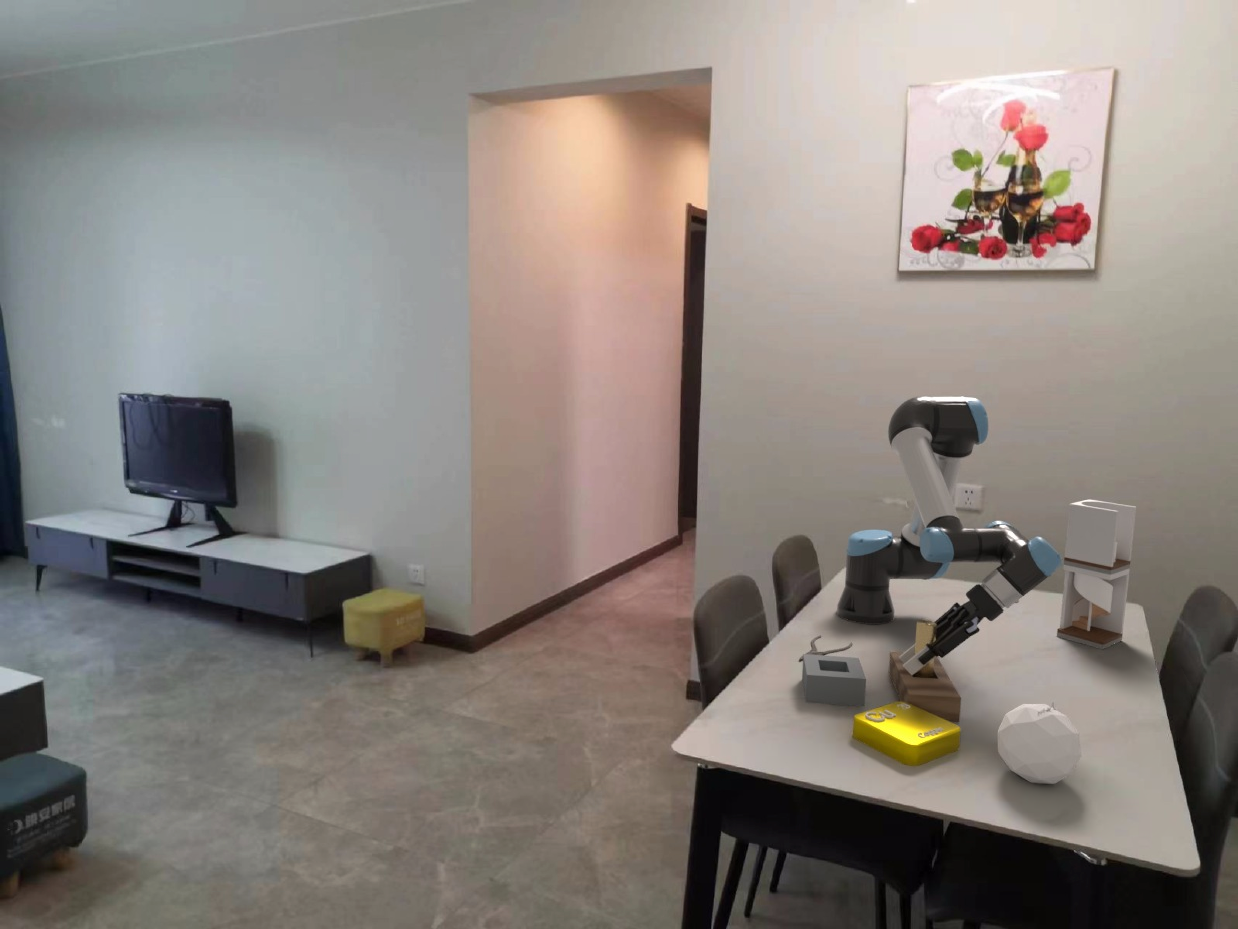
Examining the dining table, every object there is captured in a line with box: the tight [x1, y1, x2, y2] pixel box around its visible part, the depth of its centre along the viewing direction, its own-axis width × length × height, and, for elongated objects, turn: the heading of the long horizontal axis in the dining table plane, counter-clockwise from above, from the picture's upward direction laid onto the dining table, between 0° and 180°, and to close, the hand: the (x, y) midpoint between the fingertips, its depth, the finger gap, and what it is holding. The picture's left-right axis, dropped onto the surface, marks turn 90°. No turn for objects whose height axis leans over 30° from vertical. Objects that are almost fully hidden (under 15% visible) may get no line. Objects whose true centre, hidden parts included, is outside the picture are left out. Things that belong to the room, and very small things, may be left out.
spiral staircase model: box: [1056, 499, 1137, 650], centre depth 222 cm, size 11×11×35 cm
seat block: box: [801, 653, 867, 707], centre depth 188 cm, size 12×12×6 cm
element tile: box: [852, 700, 962, 767], centre depth 166 cm, size 15×15×5 cm
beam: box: [888, 651, 962, 722], centre depth 187 cm, size 24×10×5 cm, turn 172°
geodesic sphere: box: [997, 702, 1082, 785], centre depth 153 cm, size 14×14×14 cm
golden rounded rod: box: [913, 620, 937, 678], centre depth 187 cm, size 4×4×16 cm
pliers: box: [798, 635, 853, 662], centre depth 213 cm, size 10×1×20 cm
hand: (905, 666), depth 187 cm, fingers closed on golden rounded rod, 4 cm apart
